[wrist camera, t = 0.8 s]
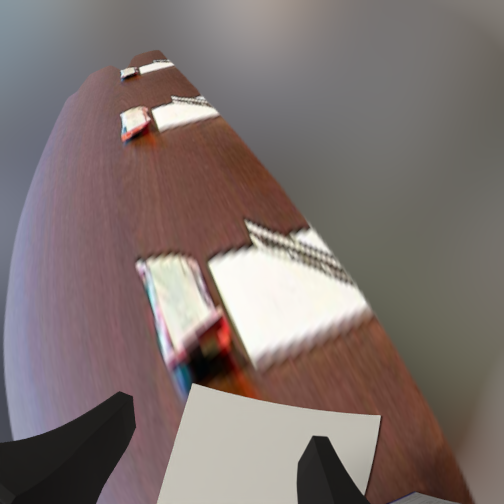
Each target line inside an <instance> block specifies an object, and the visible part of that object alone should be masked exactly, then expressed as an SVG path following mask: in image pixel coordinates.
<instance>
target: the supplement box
mask: <svg viewBox="0 0 504 504" xmlns="http://www.w3.org/2000/svg"><path fill="white" fill-rule="evenodd" d="M387 504H460V503H456V502H451V501H447V500H443V499H439V498H435V497H431V496H428V495H424V494H421V493H417V492H415V491H414V492H412V493H410V494H407V495H405V496H403V497H401V498H399V499H396V500H394V501H392V502H389V503H387Z"/></svg>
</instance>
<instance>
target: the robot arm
mask: <svg viewBox="0 0 504 504" xmlns="http://www.w3.org/2000/svg"><path fill="white" fill-rule="evenodd" d="M135 428H136V423H135V414H134V405H133V396H130V395H128V394H125V393H123V392H120V391H119V392H117V393H116V394H114V395H113V396H111V397H110V398H108V399H107V400H106V401H104V402H103V403H101V404H99V405H98V406H96V407H95V408H93V409H92V410H90V411H88V412H87V413H85V414H83V415H82V416H80V417H78V418H76V419H75V420H73V421H71V422H69V423H67V424H65V425H63V426H61V427H58V428H56V429H54V430H51V431H49V432H46V433H43V434H40V435H37V436H34V437H30V438H27V439H22V440H17V441H11V442H4V443H0V504H96V502H97V500H98V498H99V495H100V493H101V491H102V488H103V487H104V485H105V483H106V481H107V479H108V478H109V476H110V474H111V473H112V471H113V470H114V468H115V466H116V465H117V463H118V461H119V460H120V458H121V457H122V455H123V453H124V452H125V450H126V448H127V447H128V445H129V442H130V440H131V438H132V435H133V433H134V431H135ZM296 485H297V501H298V504H370V503H369V501H368V500H367V499H366V498H365V497H364V495H363V494H362V493H361V491H360V490H359V489H358V487H357V486H356V484H355V483H354V482H353V480H352V478H351V477H350V475H349V474H348V472H347V471H346V469H345V467H344V466H343V464H342V462H341V460H340V459H339V457H338V455H337V453H336V451H335V449H334V448H333V446H332V444H331V442H330V440H329V438H328V437H327V436H314V435H313V436H312V438H311V439H310V441H309V443H308V445H307V447H306V449H305V451H304V452H303V454H302V456H301V458H300V460H299V461H298V467H297V482H296Z"/></svg>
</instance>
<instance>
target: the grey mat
mask: <svg viewBox="0 0 504 504" xmlns="http://www.w3.org/2000/svg"><path fill="white" fill-rule="evenodd" d="M380 418H381V416H379V415H362V414H349V413H338V412H329V411H321V410H313V409H306V408H299V407H293V406H287V405H281V404H276V403H271V402H266V401H261V400H256V399H251V398H247V397H242V396H238V395H234V394H230V393H226V392H222V391H218V390H214V389H211V388H207V387H204V386H200V385H197V384H192V387H191V390H190V394H189V397H188V400H187V403H186V407H185V410H184V413H183V417H182V420H181V423H180V426H179V430H178V433H177V436H176V440H175V443H174V447H173V450H172V453H171V457H170V460H169V463H168V467H167V470H166V474H165V477H164V481H163V484H162V488H161V491H160V495H159V498H158V502H157V504H298V501H297V485H296V482H297V467H298V461H299V460H300V458H301V456H302V454H303V452H304V451H305V449H306V447H307V445H308V443H309V441H310V439H311V438H312V436H313V435H314V436H327V437H328V438H329V440H330V442H331V444H332V446H333V448H334V449H335V451H336V453H337V455H338V457H339V459H340V460H341V462H342V464H343V466H344V467H345V469H346V471H347V472H348V474H349V475H350V477H351V478H352V480H353V482H354V483H355V484H356V486H357V487H358V489H359V490H360V491H361V493H362V494H363V495H364V494H365V491H366V487H367V483H368V479H369V475H370V471H371V466H372V462H373V457H374V452H375V447H376V442H377V436H378V431H379V424H380Z"/></svg>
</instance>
